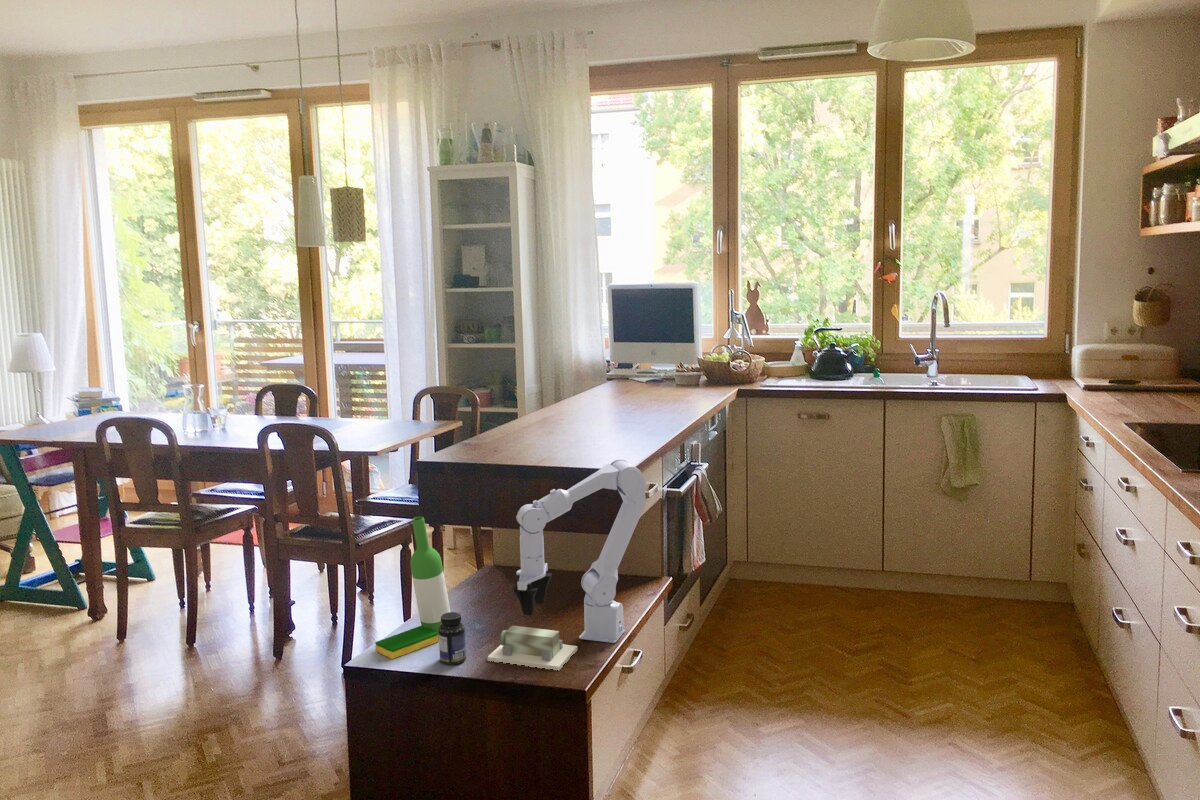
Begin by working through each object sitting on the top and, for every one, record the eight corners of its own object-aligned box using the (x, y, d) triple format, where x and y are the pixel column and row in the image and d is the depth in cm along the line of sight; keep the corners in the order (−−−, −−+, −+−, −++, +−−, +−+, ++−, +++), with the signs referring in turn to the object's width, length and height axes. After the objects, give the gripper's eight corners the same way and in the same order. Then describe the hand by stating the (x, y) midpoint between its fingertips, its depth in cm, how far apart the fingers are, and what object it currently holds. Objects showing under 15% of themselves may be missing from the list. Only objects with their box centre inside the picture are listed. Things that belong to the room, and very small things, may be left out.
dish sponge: (374, 651, 235) (374, 641, 235) (421, 634, 245) (421, 625, 245) (392, 659, 231) (391, 650, 230) (439, 641, 240) (438, 632, 240)
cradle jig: (577, 650, 234) (577, 638, 234) (559, 670, 223) (558, 658, 222) (508, 641, 240) (508, 629, 239) (487, 660, 229) (487, 648, 228)
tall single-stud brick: (559, 651, 231) (558, 631, 230) (553, 658, 227) (552, 637, 227) (507, 644, 236) (506, 624, 235) (499, 650, 232) (499, 630, 231)
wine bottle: (416, 634, 245) (395, 523, 237) (433, 619, 252) (414, 511, 244) (441, 637, 242) (422, 525, 234) (458, 622, 248) (440, 513, 241)
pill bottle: (467, 654, 233) (465, 610, 231) (464, 665, 227) (463, 620, 225) (441, 655, 232) (439, 611, 231) (438, 666, 226) (436, 621, 225)
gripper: (528, 544, 242) (529, 596, 244) (504, 562, 229) (506, 618, 231) (554, 546, 240) (556, 599, 242) (532, 565, 227) (534, 621, 229)
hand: (534, 608), depth 236 cm, fingers open, 7 cm apart
